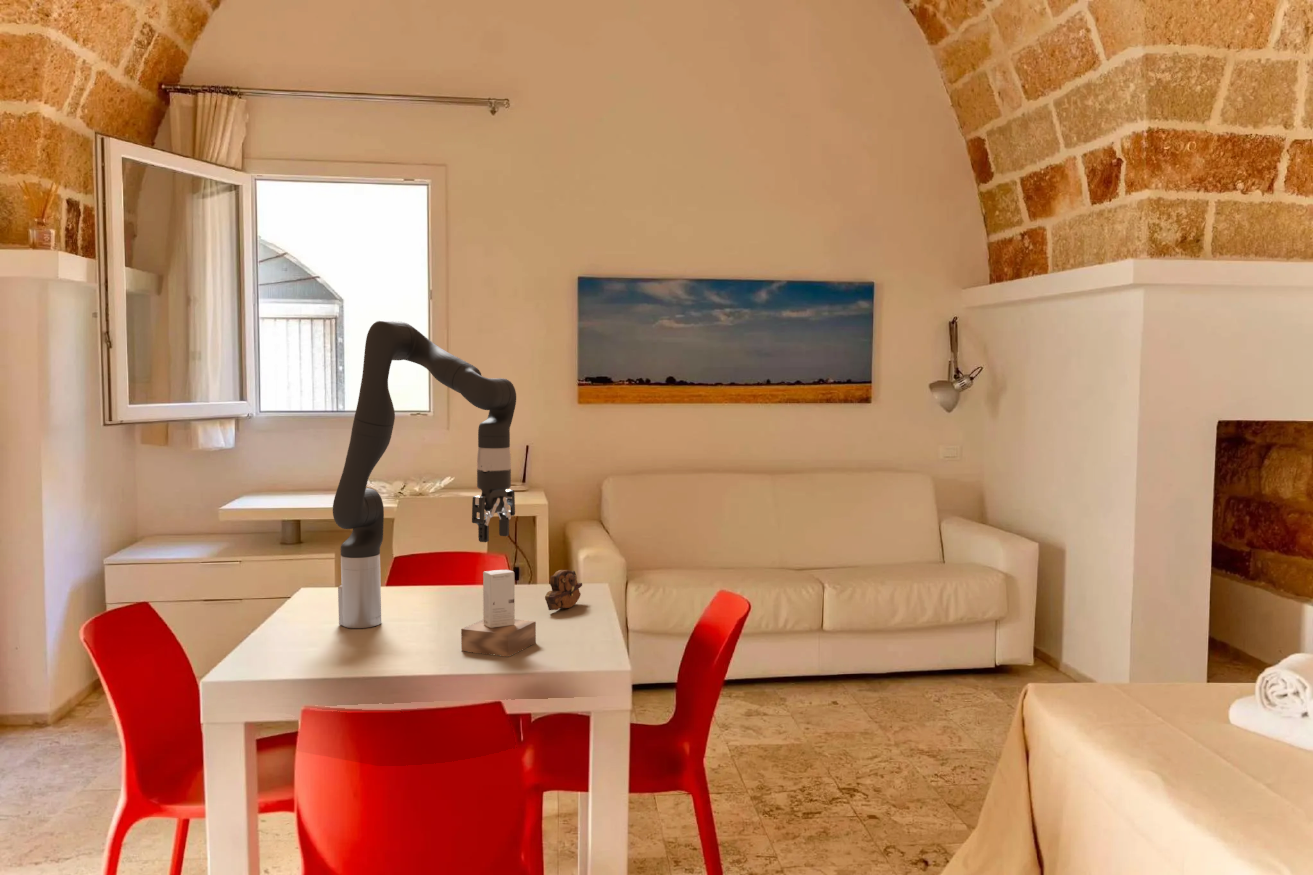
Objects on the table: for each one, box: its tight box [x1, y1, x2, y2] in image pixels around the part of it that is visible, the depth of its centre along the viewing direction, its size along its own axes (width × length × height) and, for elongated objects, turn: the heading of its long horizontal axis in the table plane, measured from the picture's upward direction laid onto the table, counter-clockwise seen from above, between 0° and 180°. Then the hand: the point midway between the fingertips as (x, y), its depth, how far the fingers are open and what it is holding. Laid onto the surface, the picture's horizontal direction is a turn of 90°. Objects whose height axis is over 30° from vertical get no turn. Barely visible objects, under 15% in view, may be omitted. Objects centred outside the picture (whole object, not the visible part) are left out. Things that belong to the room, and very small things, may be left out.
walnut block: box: [460, 618, 537, 657], centre depth 225 cm, size 12×12×5 cm
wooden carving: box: [544, 569, 583, 611], centre depth 262 cm, size 16×5×10 cm, turn 161°
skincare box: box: [482, 569, 516, 628], centre depth 225 cm, size 6×4×12 cm
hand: (494, 538), depth 226 cm, fingers open, 8 cm apart
